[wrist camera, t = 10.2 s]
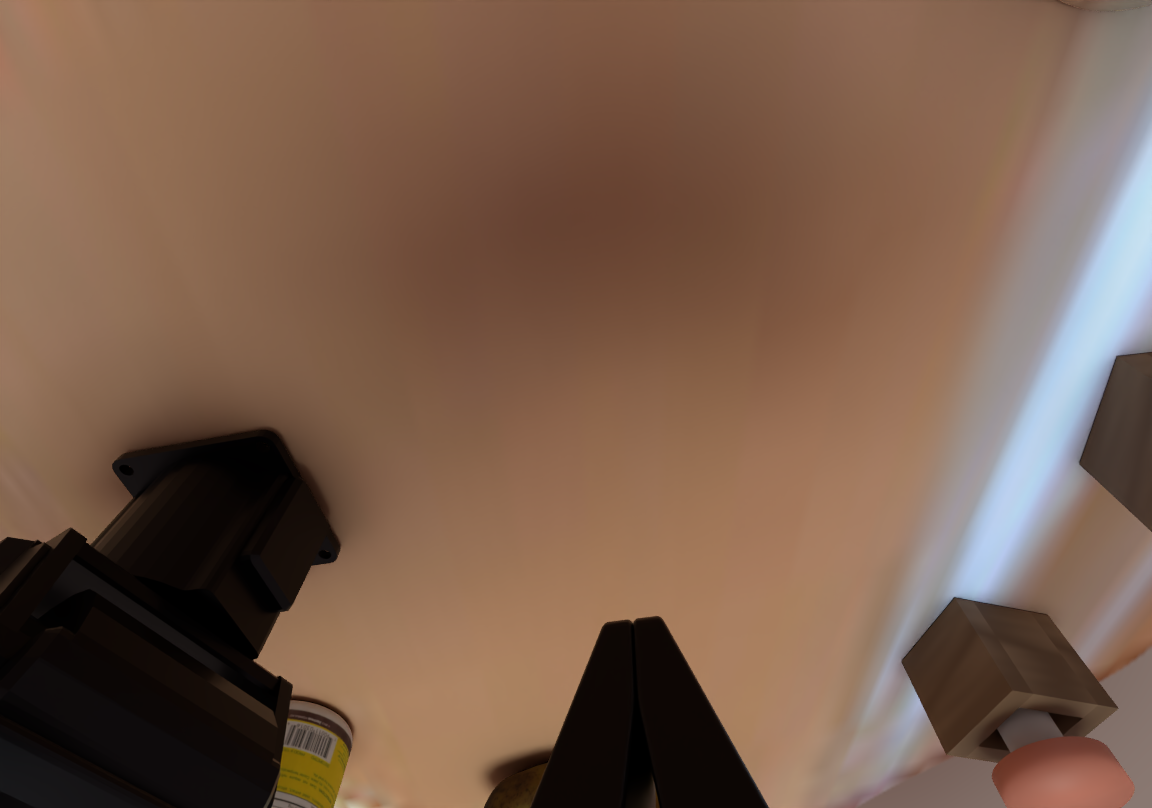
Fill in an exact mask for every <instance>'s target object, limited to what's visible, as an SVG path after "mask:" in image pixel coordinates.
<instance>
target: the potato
mask: <svg viewBox="0 0 1152 808" xmlns="http://www.w3.org/2000/svg"><path fill="white" fill-rule="evenodd" d="M547 764H548V763H545V764H541V765H538V766H534V767H532V768H530V769H527V770H525V771H522V772H519V773H517V774H514V775H512V776H510V777H508V778H506V779H505V780H503V781H502V782H501V783H500V784H498V786H497V787H496V788H495V789H494V790H493V792H492V793H491V795H490V796H489V798H488V800H487V802H486V804H485V806H484V808H530V806H531V803H532V801H533V798H534V796H535V793H536V791H537V788H538V786H539V784H540V781H541V779H542V776H543V774H544V771H545V769H546V766H547ZM655 795H656V808H660V807H659V802H658V797H657V793H656V790H655Z"/></svg>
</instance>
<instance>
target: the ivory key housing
mask: <svg viewBox="0 0 1152 808" xmlns="http://www.w3.org/2000/svg"><path fill="white" fill-rule="evenodd" d="M1080 465H1081V466H1082V467H1083V468H1084V469H1085V470H1086V471H1087V472H1088V473H1089V474H1090V475H1091V476H1093V477H1094V478H1095V479H1096V480H1097V481H1098V482H1099V483H1100V484H1101V485H1102V486H1103V487H1104V488H1105V489H1106V490H1108V491H1109V492H1110V493H1111V494H1112V495H1113V496H1114V497H1115V498H1116V499H1117V500H1118V501H1119V502H1120V503H1121V504H1123V505H1124V506H1125V507H1126V508H1127V509H1128V510H1129V511H1130V512H1131V513H1132V514H1133V515H1134V516H1135V517H1136V518H1138V519H1139V520H1140V521H1141V522H1142V523H1143V524H1144V525H1145V526H1146V527H1147V528H1148V529H1149V530H1150V531H1151V532H1152V352H1151V353H1143V354H1134V355H1126V356H1117V359H1116V361H1115V364H1114V367H1113V370H1112V373H1111V376H1110V379H1109V381H1108V384H1107V387H1106V390H1105V393H1104V396H1103V399H1102V401H1101V404H1100V407H1099V410H1098V413H1097V416H1096V419H1095V421H1094V424H1093V427H1092V430H1091V433H1090V436H1089V439H1088V441H1087V444H1086V447H1085V450H1084V453H1083V456H1082V459H1081V461H1080Z"/></svg>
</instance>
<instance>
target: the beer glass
mask: <svg viewBox="0 0 1152 808" xmlns="http://www.w3.org/2000/svg"><path fill="white" fill-rule="evenodd" d="M1059 1H1061V2H1063V3H1065V4H1068V5H1070V6H1073V7H1076V8H1079V9H1084V10H1089V11H1100V12H1109V11H1122V10H1130V9H1136V8H1141V7H1145V6H1150V5H1152V0H1059Z"/></svg>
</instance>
